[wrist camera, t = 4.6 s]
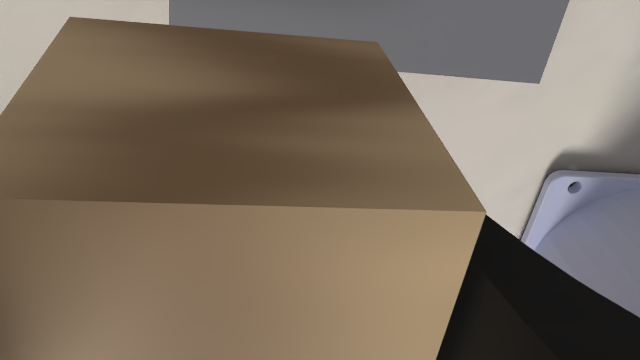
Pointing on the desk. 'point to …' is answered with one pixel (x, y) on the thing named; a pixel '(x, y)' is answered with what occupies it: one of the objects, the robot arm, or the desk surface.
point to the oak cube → (224, 201)
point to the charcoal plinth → (406, 30)
